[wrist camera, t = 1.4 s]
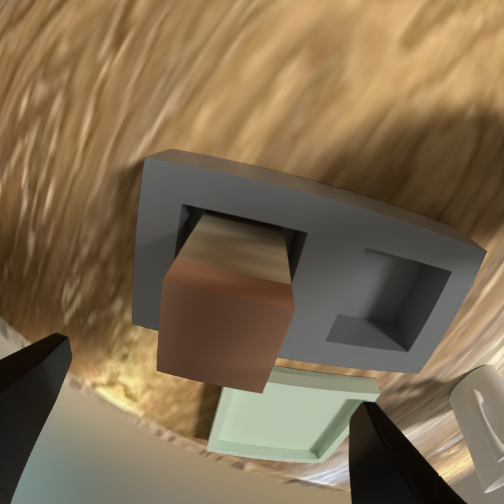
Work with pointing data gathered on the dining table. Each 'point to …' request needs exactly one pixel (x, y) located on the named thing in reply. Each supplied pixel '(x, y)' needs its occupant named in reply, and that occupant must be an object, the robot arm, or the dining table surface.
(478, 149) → the dining table surface
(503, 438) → the mug
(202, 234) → the plug
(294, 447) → the tray
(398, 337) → the grey cinder block
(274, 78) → the dining table surface
